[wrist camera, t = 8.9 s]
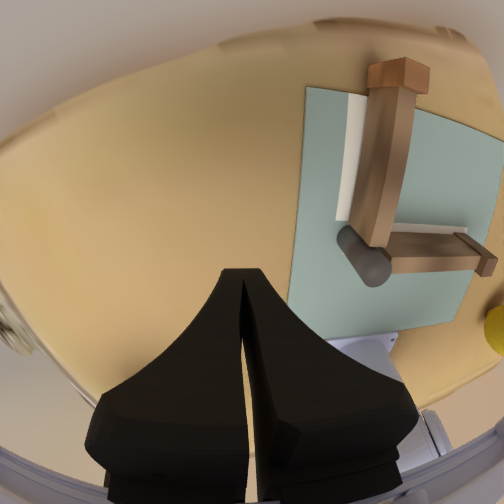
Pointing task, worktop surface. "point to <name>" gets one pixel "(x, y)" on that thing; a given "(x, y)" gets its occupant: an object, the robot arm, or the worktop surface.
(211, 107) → the worktop surface
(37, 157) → the worktop surface
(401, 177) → the hinged fence panel
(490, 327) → the lemon
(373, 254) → the fixed fence section
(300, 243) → the card
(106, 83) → the worktop surface
